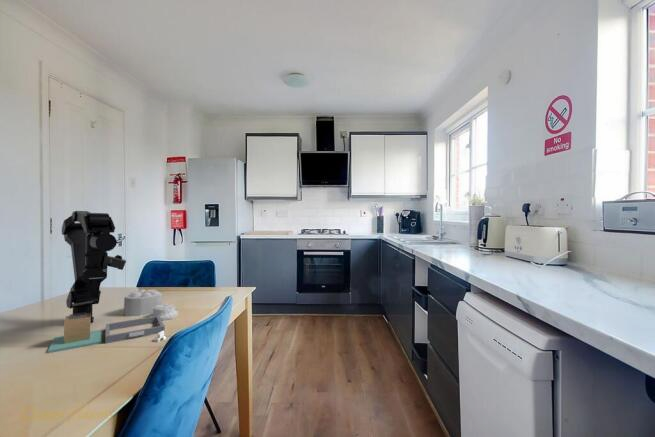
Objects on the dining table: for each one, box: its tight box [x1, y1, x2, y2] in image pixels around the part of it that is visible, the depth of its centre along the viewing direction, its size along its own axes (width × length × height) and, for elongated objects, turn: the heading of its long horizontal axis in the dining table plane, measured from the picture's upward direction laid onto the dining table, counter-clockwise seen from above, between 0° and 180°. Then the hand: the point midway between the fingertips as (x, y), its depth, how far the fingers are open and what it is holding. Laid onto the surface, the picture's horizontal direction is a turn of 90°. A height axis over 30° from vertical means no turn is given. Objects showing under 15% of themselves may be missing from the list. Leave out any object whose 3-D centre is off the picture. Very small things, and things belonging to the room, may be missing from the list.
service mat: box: [47, 329, 103, 354], centre depth 92 cm, size 12×12×1 cm
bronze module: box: [63, 312, 92, 344], centre depth 92 cm, size 4×6×8 cm
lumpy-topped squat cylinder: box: [123, 288, 163, 317], centre depth 123 cm, size 10×13×9 cm
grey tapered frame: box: [104, 316, 166, 344], centre depth 101 cm, size 15×16×2 cm
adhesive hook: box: [153, 331, 167, 342], centre depth 94 cm, size 3×3×3 cm
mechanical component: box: [149, 303, 179, 321], centre depth 117 cm, size 10×4×10 cm
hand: (95, 295), depth 101 cm, fingers open, 9 cm apart
